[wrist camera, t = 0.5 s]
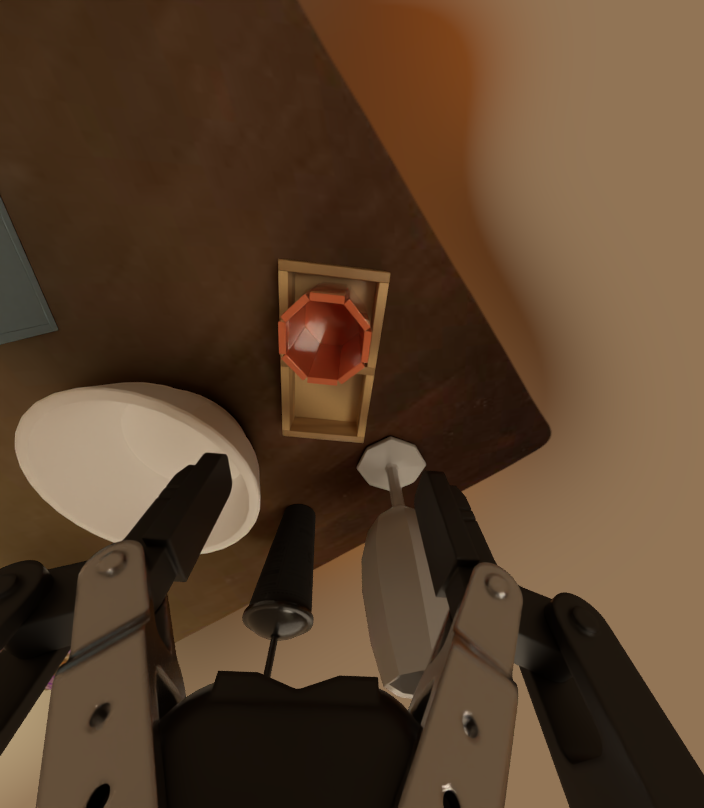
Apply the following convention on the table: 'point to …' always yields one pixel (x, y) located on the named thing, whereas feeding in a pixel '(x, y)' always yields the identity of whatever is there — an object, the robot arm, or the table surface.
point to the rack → (345, 403)
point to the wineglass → (398, 573)
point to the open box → (19, 290)
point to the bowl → (132, 455)
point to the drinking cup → (285, 583)
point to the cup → (325, 334)
